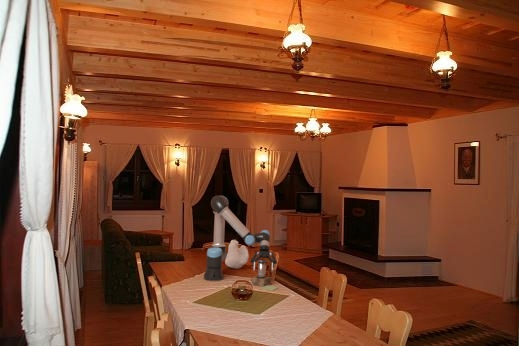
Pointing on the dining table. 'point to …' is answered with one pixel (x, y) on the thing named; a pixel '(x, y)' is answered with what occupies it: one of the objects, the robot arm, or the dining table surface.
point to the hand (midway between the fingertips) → (263, 270)
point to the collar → (261, 281)
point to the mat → (269, 287)
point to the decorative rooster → (236, 255)
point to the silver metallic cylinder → (261, 268)
